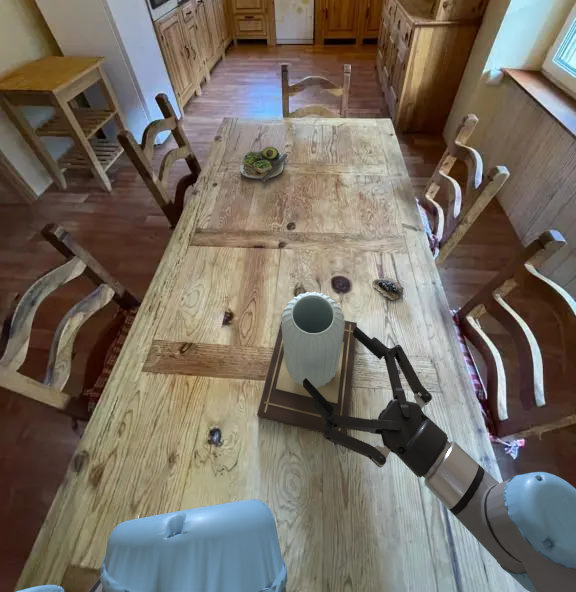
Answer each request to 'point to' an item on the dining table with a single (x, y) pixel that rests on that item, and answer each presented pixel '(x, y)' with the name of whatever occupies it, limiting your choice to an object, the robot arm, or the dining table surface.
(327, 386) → the picture frame
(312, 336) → the vase
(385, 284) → the brown flat lumpy piece
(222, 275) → the dining table surface
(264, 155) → the avocado toast plate
